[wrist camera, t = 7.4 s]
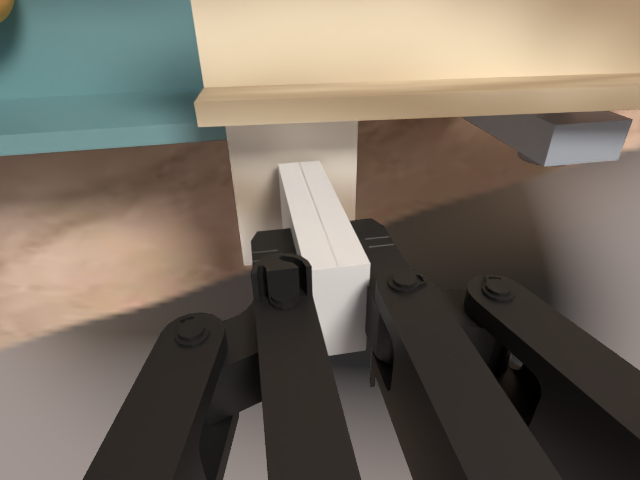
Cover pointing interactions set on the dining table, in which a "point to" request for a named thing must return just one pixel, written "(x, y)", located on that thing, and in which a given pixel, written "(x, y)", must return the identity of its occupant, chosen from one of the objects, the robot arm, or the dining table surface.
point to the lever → (393, 76)
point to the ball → (5, 8)
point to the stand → (559, 135)
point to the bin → (99, 76)
